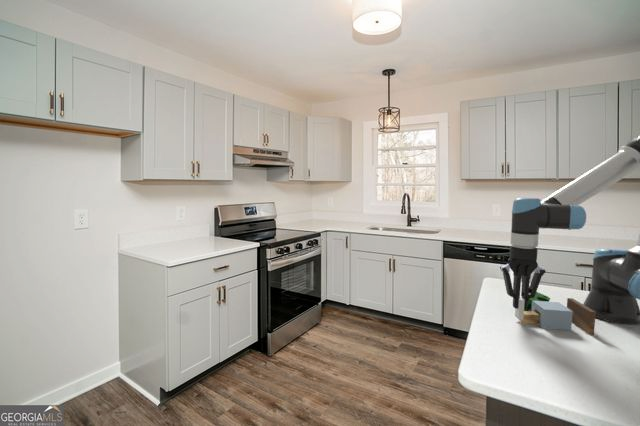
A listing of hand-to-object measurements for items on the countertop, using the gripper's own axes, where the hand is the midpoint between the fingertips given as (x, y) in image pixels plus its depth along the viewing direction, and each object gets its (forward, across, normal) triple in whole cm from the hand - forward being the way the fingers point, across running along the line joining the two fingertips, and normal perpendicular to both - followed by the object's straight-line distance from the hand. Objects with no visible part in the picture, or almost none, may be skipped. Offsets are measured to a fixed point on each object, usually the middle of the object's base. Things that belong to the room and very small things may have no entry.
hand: (519, 317), depth 109 cm
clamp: (+2, -10, -11) cm, 15 cm away
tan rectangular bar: (+1, -4, 0) cm, 4 cm away
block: (+1, -9, 0) cm, 9 cm away
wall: (+1, -18, 0) cm, 18 cm away
